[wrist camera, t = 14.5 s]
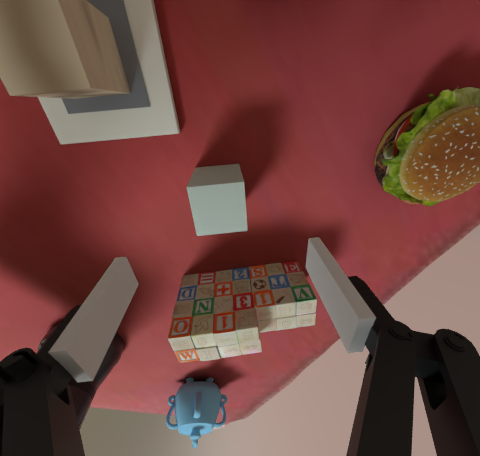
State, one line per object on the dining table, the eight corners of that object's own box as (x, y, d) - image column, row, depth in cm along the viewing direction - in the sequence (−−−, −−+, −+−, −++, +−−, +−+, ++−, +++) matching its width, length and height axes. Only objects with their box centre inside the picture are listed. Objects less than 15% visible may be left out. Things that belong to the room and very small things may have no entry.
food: (490, 124, 29) (575, 129, 22) (406, 207, 34) (452, 233, 27) (430, 59, 24) (512, 42, 18) (346, 167, 30) (382, 185, 23)
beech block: (74, 98, 23) (9, 95, 16) (43, 23, 20) (-54, -22, 13) (130, 93, 23) (90, 88, 16) (108, 17, 20) (47, -30, 13)
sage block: (202, 207, 32) (197, 236, 25) (195, 167, 29) (186, 187, 22) (242, 203, 32) (247, 230, 25) (238, 163, 29) (244, 181, 22)
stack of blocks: (298, 258, 38) (327, 317, 28) (297, 283, 41) (323, 344, 31) (181, 275, 38) (166, 340, 28) (190, 298, 41) (178, 365, 31)
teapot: (204, 365, 55) (199, 420, 45) (234, 388, 61) (235, 441, 51) (167, 381, 58) (154, 436, 48) (199, 401, 63) (193, 454, 54)
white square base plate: (66, 142, 26) (59, 144, 25) (-19, -40, 18) (-36, -51, 17) (180, 132, 26) (178, 133, 25) (143, -52, 19) (137, -63, 17)
